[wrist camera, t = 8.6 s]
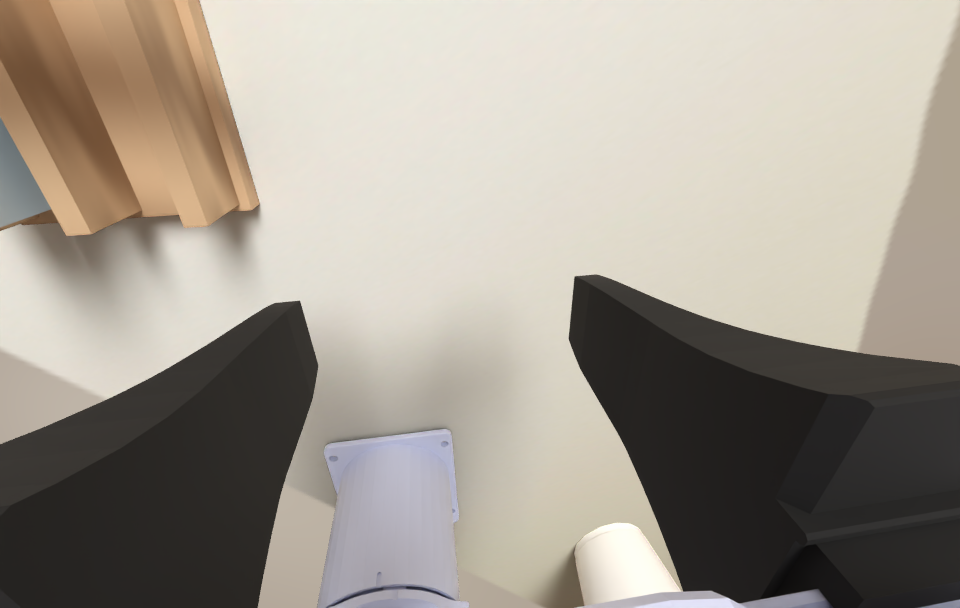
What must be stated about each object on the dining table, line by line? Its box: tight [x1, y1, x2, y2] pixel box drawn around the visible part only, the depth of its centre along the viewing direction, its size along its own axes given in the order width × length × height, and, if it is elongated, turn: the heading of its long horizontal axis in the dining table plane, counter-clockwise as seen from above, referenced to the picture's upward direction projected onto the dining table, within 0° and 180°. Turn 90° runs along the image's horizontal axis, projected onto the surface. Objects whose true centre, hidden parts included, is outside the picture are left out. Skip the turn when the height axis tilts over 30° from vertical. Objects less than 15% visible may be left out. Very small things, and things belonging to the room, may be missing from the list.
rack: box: [0, 0, 260, 236], centre depth 14 cm, size 9×9×4 cm
